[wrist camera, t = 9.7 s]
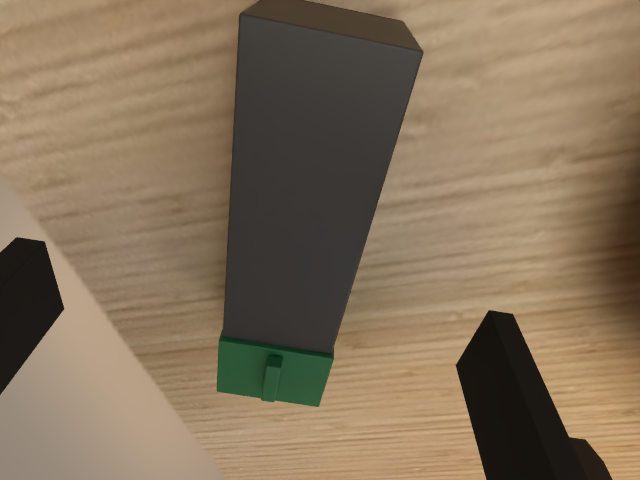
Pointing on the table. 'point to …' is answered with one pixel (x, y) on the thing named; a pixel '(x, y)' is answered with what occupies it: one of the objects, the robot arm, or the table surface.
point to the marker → (304, 185)
